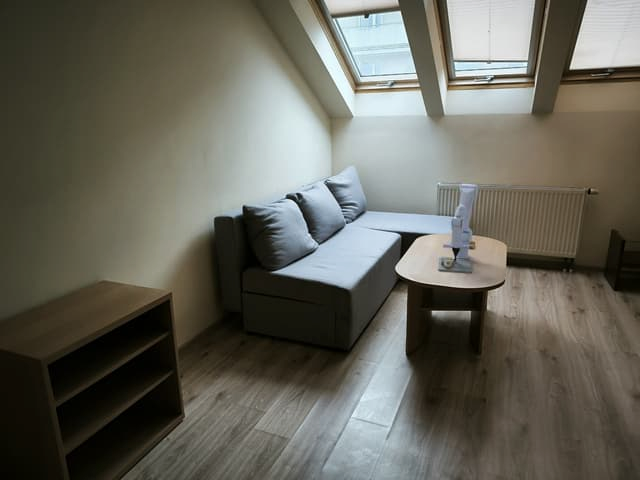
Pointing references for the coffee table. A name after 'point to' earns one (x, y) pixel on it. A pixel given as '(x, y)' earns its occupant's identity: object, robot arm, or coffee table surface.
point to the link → (449, 262)
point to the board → (457, 266)
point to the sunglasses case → (471, 245)
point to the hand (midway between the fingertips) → (455, 259)
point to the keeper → (445, 259)
